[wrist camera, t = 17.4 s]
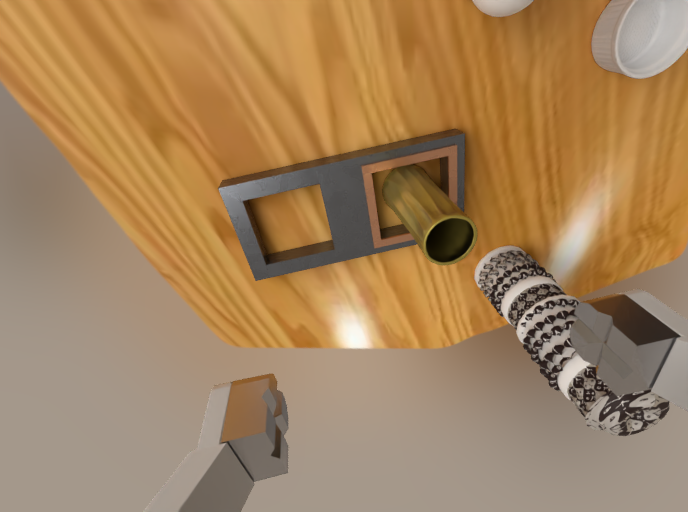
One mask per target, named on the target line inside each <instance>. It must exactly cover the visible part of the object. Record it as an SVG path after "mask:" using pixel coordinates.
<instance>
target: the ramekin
mask: <svg viewBox="0 0 688 512" xmlns="http://www.w3.org/2000/svg"><path fill="white" fill-rule="evenodd" d="M591 45H592V54H593V57H594V60H595V61H596V63H597V64H598V65H599V66H600V67H602V68H603V69H605V70H608V71H611V72H616V73H621V74H624V75H626V76H628V77H631V78H636V79H643V78H648V77H651V76H654V75H656V74H659V73H660V72H662V71H664V70H665V69H667V68H668V67H670V66H671V65H672V64H673V63H674V62H676V61H677V60H678V59H679V58H680V57H681V56H682V54H683V53H684V52H685V51H686V50H687V48H688V0H611V2H610V3H609V4H608V5H607V6H606V8H605V9H604V10H603V12H602V14H601V15H600V17H599V19H598V21H597V23H596V26H595V28H594V31H593V35H592V42H591Z"/></svg>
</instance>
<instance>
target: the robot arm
mask: <svg viewBox="0 0 688 512" xmlns="http://www.w3.org/2000/svg"><path fill="white" fill-rule="evenodd" d="M574 314H575V315H576V316H577V317H578V319H577V320H576V321H575V322H574V323H573V324H572V325H571V329H570V334H569V335H570V339H571V343H572V346H573V347H574V349H575V351H576V352H577V354H578V355H579V356H580V357H581V358H582V359H583V360H584V361H586V362H588V363H590V364H593V365H595V366H596V374H597V376H598V377H599V378H600V379H601V380H602V381H603V382H604V383H605V384H606V385H607V386H608V387H609V389H610V390H611V391H612V392H613V393H614V394H615V395H616V396H621V395H626V394H631V393H635V392H640V391H645V390H650V389H652V390H651V392H653V393H655V394H657V395H659V396H660V397H662V398H664V399H666V400H668V401H670V402H671V403H673V404H675V405H677V406H679V407H680V408H682V409H684V410H686V411H688V320H687V319H686V318H684V317H683V316H681V315H680V314H678V313H677V312H675V311H674V310H673V309H671V308H670V307H668V306H667V305H665V304H664V303H663V302H661V301H660V300H658V299H657V298H655V297H654V296H653V295H651V294H650V293H648V292H647V291H644V290H641V289H635V290H630V291H626V292H622V293H618V294H612V295H608V296H604V297H600V298H596V299H592V300H587V301H583V302H580V303H579V304H578V305H577V306H576V309H575V312H574ZM287 430H288V412H287V405H286V401H285V398H284V396H283V393H282V392H281V391H278V390H277V380H276V378H275V376H274V374H267V375H262V376H257V377H252V378H247V379H242V380H237V381H233V382H228V383H223V384H219V385H215V386H214V387H213V389H212V390H211V392H210V396H209V400H208V404H207V408H206V413H205V417H204V422H203V426H202V430H201V434H200V438H199V443H198V447H197V449H196V450H192V451H190V453H189V454H188V455H187V456H186V458H185V459H184V460H183V462H182V463H181V464H180V465H179V467H178V468H177V469H176V470H175V472H174V473H173V474H172V476H171V477H170V478H169V479H168V481H167V482H166V483H165V484H164V486H163V487H162V488H161V490H160V491H159V492H158V493H157V495H156V496H155V497H154V499H153V500H152V501H151V502H150V504H149V505H148V506H147V508H146V509H145V510H144V511H143V512H241V510H242V508H243V506H244V504H245V502H246V500H247V498H248V496H249V494H250V492H251V490H252V488H253V486H254V482H255V481H259V480H263V479H267V478H270V477H274V476H278V475H282V474H286V473H288V445H287V442H286V440H285V438H284V434H285V433H286V431H287Z"/></svg>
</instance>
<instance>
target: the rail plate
mask: <svg viewBox="0 0 688 512" xmlns="http://www.w3.org/2000/svg"><path fill="white" fill-rule="evenodd" d="M436 158H440V176H441V190H442V191H443V192H444V193H445V194H446V195H447V196H448V198H449V199H450V200H451V201H452V202H453V203H454V204H456V205H457V206H458V207H459V208H460V209H461V210H462V211H463V212H464V165H465V133H463V132H461V131H459V130H457V129H452V130H447V131H443V132H439V133H434V134H430V135H425V136H421V137H416V138H412V139H407V140H403V141H398V142H394V143H389V144H385V145H380V146H376V147H371V148H367V149H362V150H358V151H353V152H349V153H344V154H340V155H335V156H331V157H326V158H322V159H317V160H313V161H308V162H304V163H299V164H295V165H290V166H286V167H281V168H277V169H272V170H268V171H263V172H259V173H254V174H250V175H245V176H241V177H236V178H232V179H227V180H223V181H222V182H221V184H220V186H219V188H218V189H219V191H220V194H221V196H222V199H223V201H224V204H225V206H226V209H227V211H228V214H229V216H230V218H231V221H232V223H233V226H234V228H235V231H236V233H237V236H238V238H239V241H240V243H241V246H242V248H243V251H244V253H245V256H246V258H247V260H248V263H249V265H250V268H251V270H252V273H253V275H254V278H255V280H256V281H257V280H262V279H266V278H270V277H275V276H279V275H284V274H288V273H292V272H297V271H301V270H306V269H310V268H314V267H319V266H323V265H328V264H332V263H336V262H341V261H345V260H350V259H354V258H358V257H363V256H367V255H372V254H376V253H380V252H385V251H389V250H394V249H398V248H402V247H407V246H411V245H416V244H417V242H416V241H415V239H414V238H413V237H412V235H411V234H410V232H409V231H408V229H407V228H406V227H405V225H404V224H401V225H397V226H392V227H388V228H384V229H379V222H378V215H377V208H376V201H375V193H374V186H373V179H372V173H374V172H378V171H383V170H387V169H392V168H396V167H400V166H405V165H409V164H414V163H418V162H423V161H427V160H432V159H436ZM316 184H320V187H321V191H322V196H323V200H324V204H325V209H326V213H327V217H328V222H329V226H330V230H331V235H332V239H333V240H331V241H326V242H322V243H317V244H313V245H308V246H304V247H300V248H295V249H291V250H286V251H282V252H277V253H273V254H269V255H267V253H266V250H265V247H264V245H263V242H262V239H261V236H260V234H259V231H258V228H257V225H256V223H255V220H254V217H253V214H252V212H251V209H250V206H249V203H248V201H247V200H249V199H253V198H258V197H262V196H266V195H271V194H275V193H280V192H284V191H289V190H293V189H298V188H302V187H307V186H311V185H316Z"/></svg>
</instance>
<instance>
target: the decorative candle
mask: <svg viewBox="0 0 688 512" xmlns="http://www.w3.org/2000/svg"><path fill="white" fill-rule="evenodd" d="M474 279H475V281H476V283H477V285H478V287H480V290H481V291H483V290H484V292H483V293H484V294H485V297H489V298H488V300H489V301H491V304H492V305H493V306H494V308H495V309H496V310H497V312H498V313H499V314H500V315H501V316H502V317H505V319H506V320H507V321H508V322H509V323H510V324H511V325H513V326H514V328H515V329H516V333H517V336H518V338H519V340H520V341H521V342H522V343H524V346H523V347H524V349H525V350H527V352H528V353H529V354H531V359H532V360H533V361H534V362H536V363H537V364H539V365H540V368H541V369H540V373H541V374H543V375H544V376H545V377H546V378H548V380H549V385H550V387H552V388H554V389H555V390H557V391H562V392H563V393H564V395H565V396H566V397H567V399H569V400H571V401H572V402H573V403H574V404H575V406H576V407H577V409H578V410H579V411H580V412H581V414H582V415H583V416H584V417H585V420H586V423H587V426H589V427H591V428H593V429H595V430H605V431H607V432H609V433H611V434H613V435H619V436H627V435H631V434H636V433H639V432H641V431H644V430H646V429H648V428H650V427H652V426H653V425H655V424H657V423H658V422H659V421H660V420H661V419H662V418H663V417H664V416H665V415H666V413H667V412H668V410H669V401H668V400H666V399H664V398H662V397H660V396H659V395H657V394H655V393H653V392H651V390H652V389H650V390H645V391H640V392H635V393H631V394H626V395H621V396H616V395H615V394H614V393H613V392H612V391H611V390H610V389H609V387H608V386H607V385H606V384H605V383H604V382H603V381H602V380H601V379H600V378H599V377H598V376H597V374H596V366H595V365H593V364H590V363H588V362H586V361H584V360H583V359H582V358H581V357H580V356H579V355H578V354H577V352H576V351H575V349H574V347H573V346H572V343H571V339H570V335H569V334H570V329H571V325H572V324H573V323H574V322H575V321H576V320H577V319H578V317H577V316H576V315H575V314H574V312H575V309H576V306H577V305H578V304H579V303H580V301H579V300H577V299H576V298H575V297H574V296H568V295H567V294H565V293H564V292H563V289H562V288H561V287H560V286H559V285H558V284H557V283H556V281H555V280H554V279H553V276H552V275H551V274H549V273H546V271H545V269H544V268H543V267H540V266H539V265H538V262H537V261H536V260H534V259H532V258H531V256H530V255H529V254H527V253H525V252H524V251H523V250H522V249H521V248H519V247H516V246H511V245H508V246H503V247H498V248H496V249H494V250H492V251H491V252H489V253H487V254H486V255H485V256H484V257H483V258H482V259H481V260H480V262H479V263H478V265H477V267H476V269H475V276H474ZM546 369H548V370H549V371H550V372H548V371H547V370H546Z"/></svg>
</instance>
